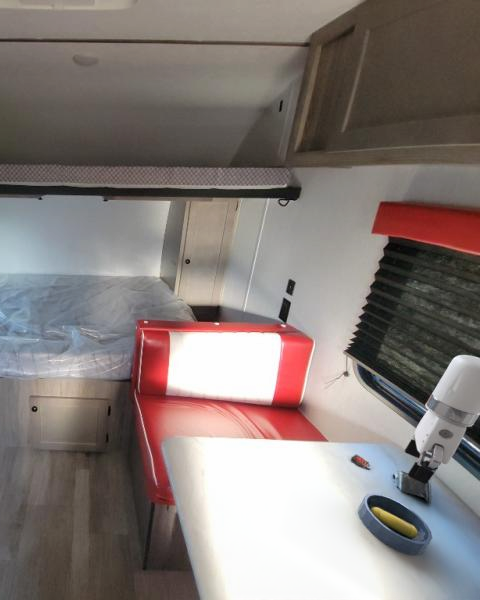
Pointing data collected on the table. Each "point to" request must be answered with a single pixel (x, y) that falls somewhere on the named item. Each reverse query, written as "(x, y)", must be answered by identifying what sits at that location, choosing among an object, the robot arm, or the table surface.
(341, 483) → the table surface
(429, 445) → the robot arm
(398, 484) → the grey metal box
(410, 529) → the yellow rounded cylinder
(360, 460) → the matchbox
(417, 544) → the bowl
